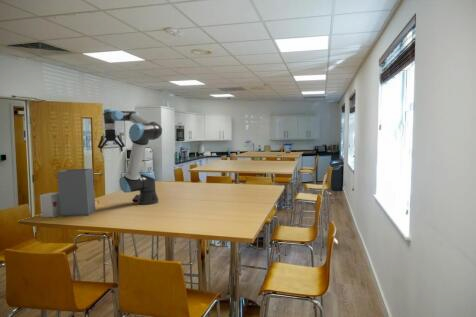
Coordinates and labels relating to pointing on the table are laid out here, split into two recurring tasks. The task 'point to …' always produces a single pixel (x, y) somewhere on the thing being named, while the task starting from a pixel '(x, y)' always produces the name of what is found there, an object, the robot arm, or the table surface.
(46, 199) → the supplement box
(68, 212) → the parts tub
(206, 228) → the table surface
